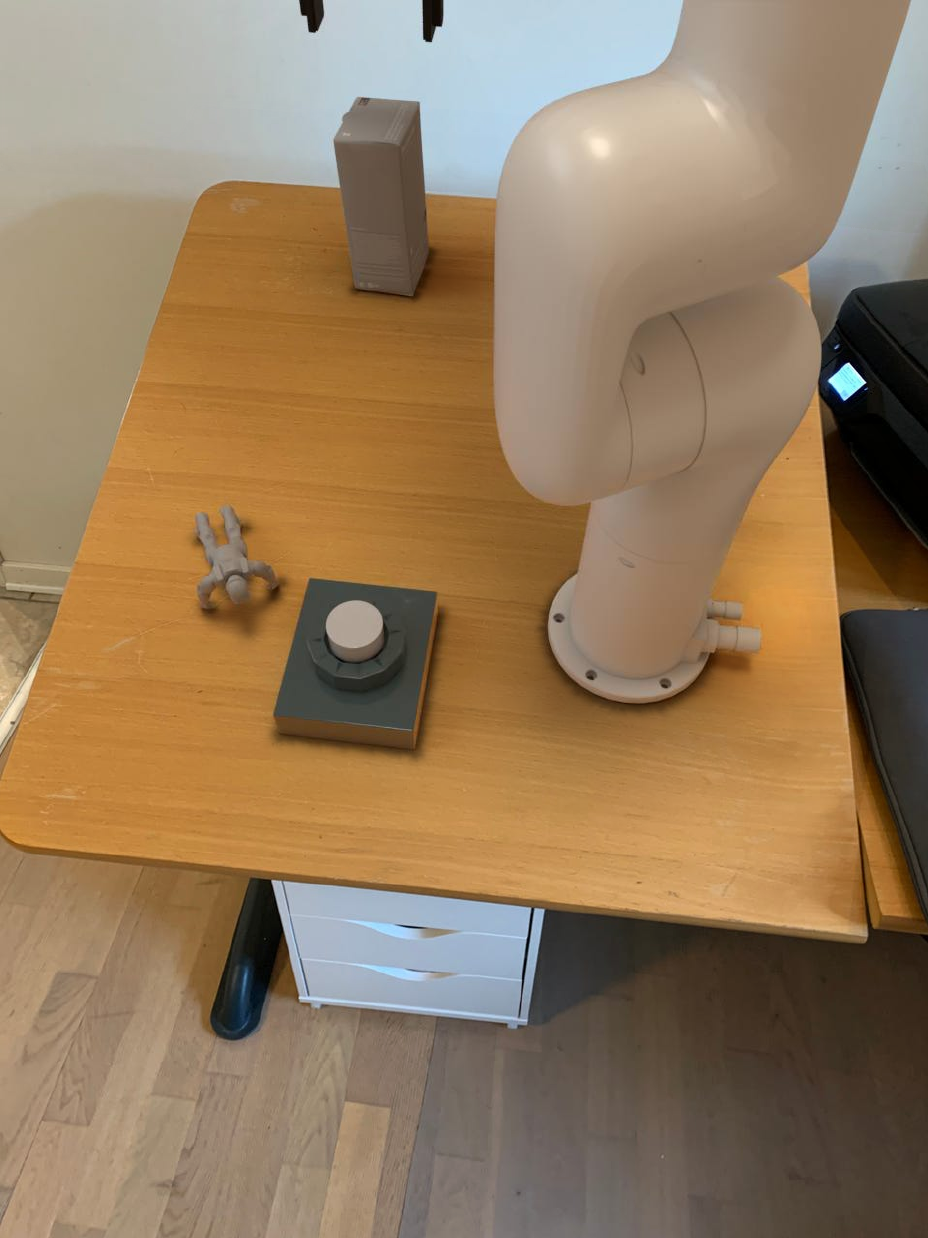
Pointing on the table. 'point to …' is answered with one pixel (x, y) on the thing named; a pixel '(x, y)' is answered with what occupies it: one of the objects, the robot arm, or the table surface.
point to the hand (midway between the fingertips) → (373, 29)
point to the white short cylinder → (355, 631)
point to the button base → (358, 669)
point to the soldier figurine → (228, 561)
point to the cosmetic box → (383, 193)
